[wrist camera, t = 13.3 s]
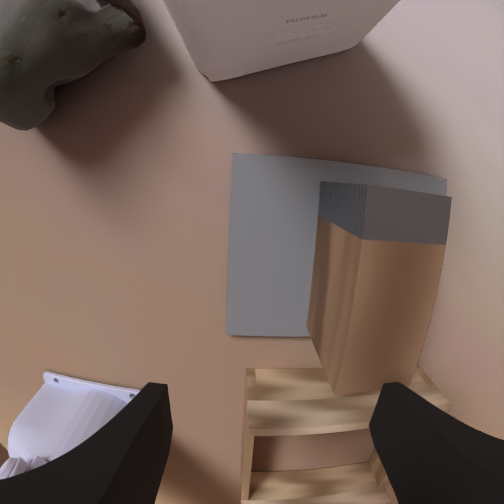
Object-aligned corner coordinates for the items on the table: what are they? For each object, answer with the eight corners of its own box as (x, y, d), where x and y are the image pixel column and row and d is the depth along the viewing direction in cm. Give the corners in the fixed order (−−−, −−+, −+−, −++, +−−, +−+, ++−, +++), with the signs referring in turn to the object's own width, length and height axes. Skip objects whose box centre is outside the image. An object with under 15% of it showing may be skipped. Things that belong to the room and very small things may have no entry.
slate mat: (226, 331, 20) (226, 334, 19) (233, 153, 17) (233, 153, 17) (417, 328, 20) (420, 331, 20) (442, 178, 18) (446, 178, 17)
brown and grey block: (306, 326, 19) (334, 394, 13) (320, 181, 17) (367, 184, 10) (363, 325, 20) (409, 386, 13) (382, 187, 17) (451, 197, 11)
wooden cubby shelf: (240, 474, 24) (241, 525, 18) (246, 368, 21) (248, 428, 15) (372, 464, 24) (389, 507, 18) (414, 360, 21) (451, 405, 15)
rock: (183, 34, 15) (152, -36, 8) (59, 158, 17) (-24, 157, 9) (65, -54, 12) (27, -95, 4) (-22, 37, 13) (-76, 17, 6)
